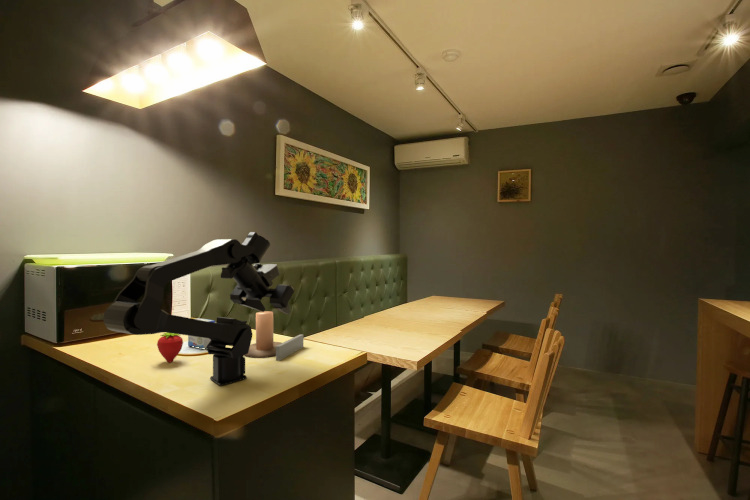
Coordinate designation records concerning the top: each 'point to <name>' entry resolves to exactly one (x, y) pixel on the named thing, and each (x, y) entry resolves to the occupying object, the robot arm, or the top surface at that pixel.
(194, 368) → the top surface
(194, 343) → the medicine box
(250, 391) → the top surface
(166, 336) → the strawberry
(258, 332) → the salmon orange cylinder
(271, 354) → the walnut board
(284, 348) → the grey wall
